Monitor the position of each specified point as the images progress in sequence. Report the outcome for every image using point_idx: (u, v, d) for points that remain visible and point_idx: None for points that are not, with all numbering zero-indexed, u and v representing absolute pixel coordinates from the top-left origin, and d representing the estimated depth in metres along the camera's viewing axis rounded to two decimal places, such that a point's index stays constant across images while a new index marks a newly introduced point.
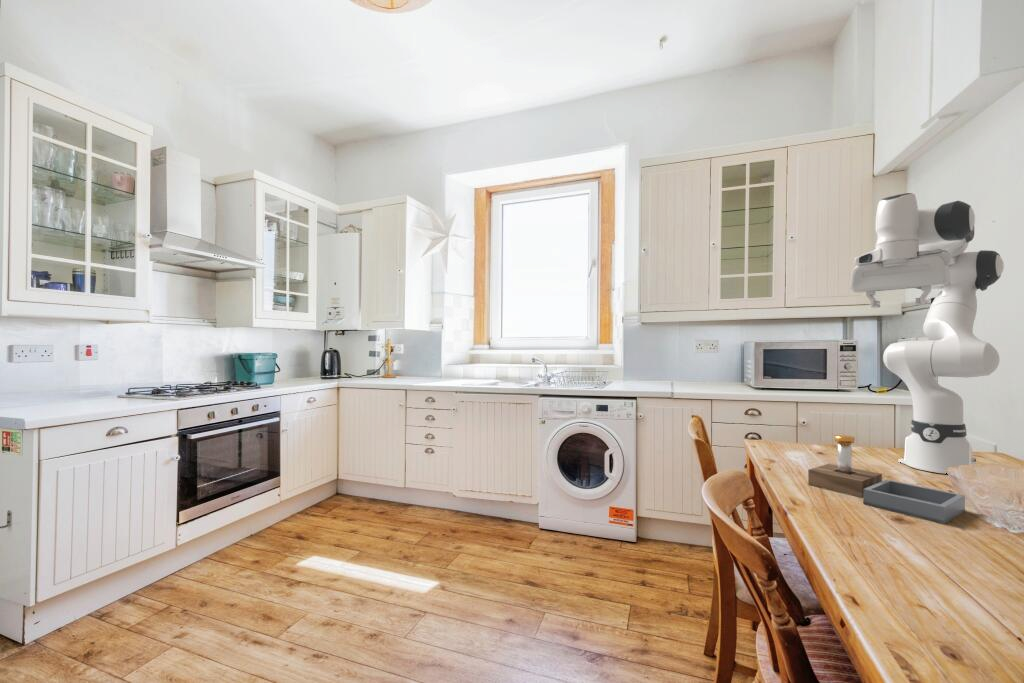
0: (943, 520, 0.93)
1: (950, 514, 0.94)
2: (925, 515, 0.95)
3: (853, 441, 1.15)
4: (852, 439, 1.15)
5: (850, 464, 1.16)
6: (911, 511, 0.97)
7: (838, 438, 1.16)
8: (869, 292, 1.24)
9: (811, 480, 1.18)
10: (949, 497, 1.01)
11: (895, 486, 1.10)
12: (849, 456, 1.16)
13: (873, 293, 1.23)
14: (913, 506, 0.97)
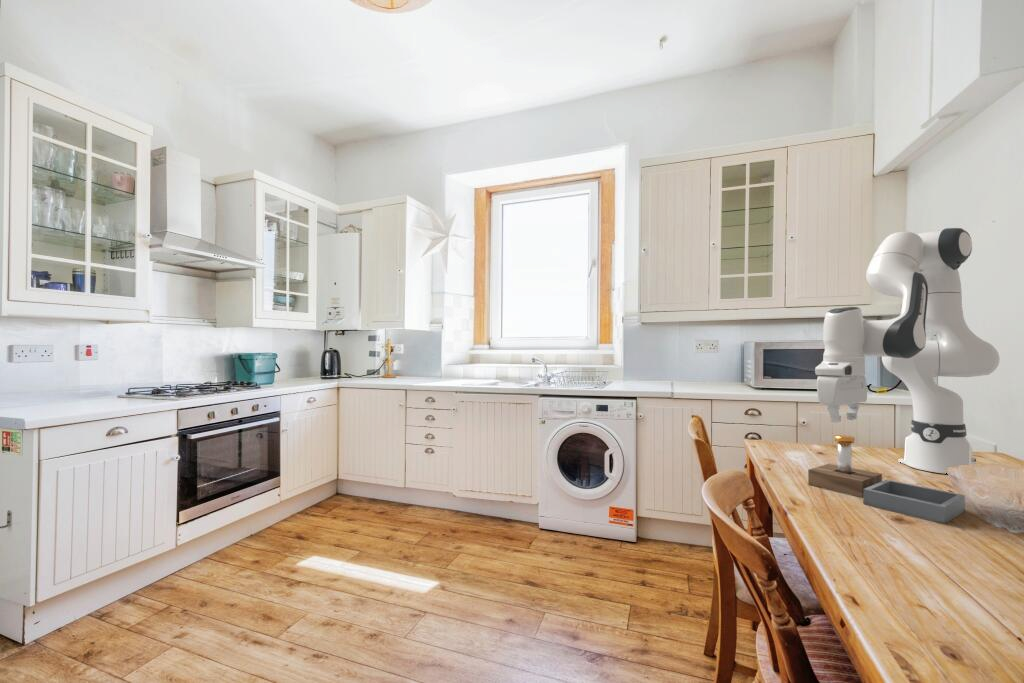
0: (943, 520, 0.93)
1: (950, 514, 0.94)
2: (925, 515, 0.95)
3: (853, 441, 1.15)
4: (852, 439, 1.15)
5: (850, 464, 1.16)
6: (911, 511, 0.97)
7: (838, 438, 1.16)
8: (838, 406, 1.13)
9: (811, 480, 1.18)
10: (949, 497, 1.01)
11: (895, 486, 1.10)
12: (849, 456, 1.16)
13: None
14: (913, 506, 0.97)
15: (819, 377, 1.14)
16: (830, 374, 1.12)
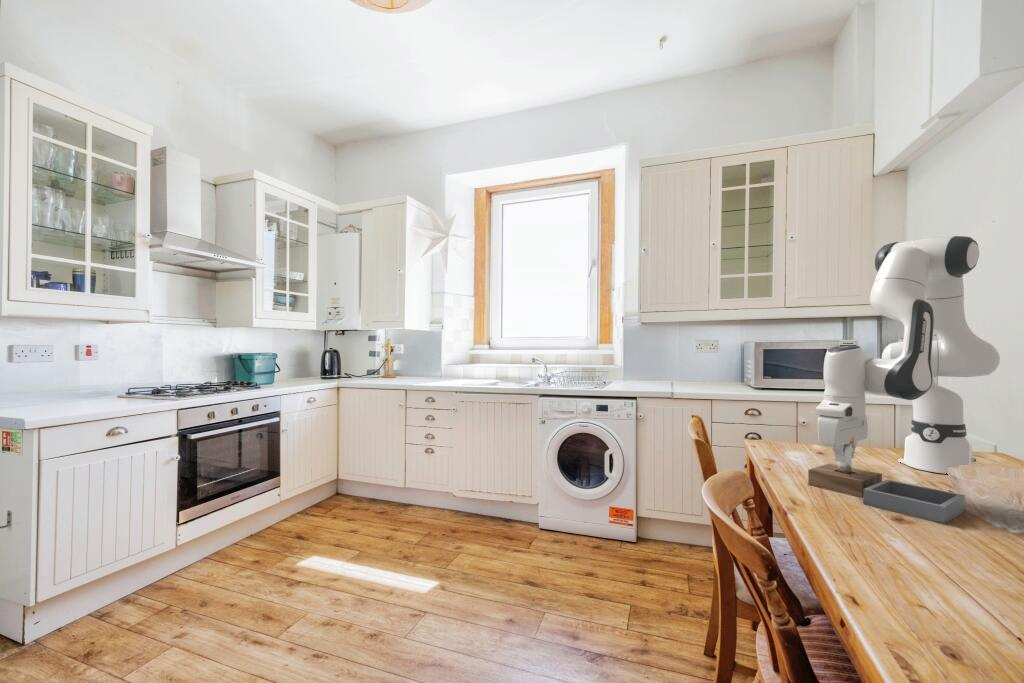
0: (943, 520, 0.93)
1: (950, 514, 0.94)
2: (925, 515, 0.95)
3: (853, 441, 1.15)
4: (852, 438, 1.15)
5: (850, 464, 1.16)
6: (911, 511, 0.97)
7: None
8: (842, 446, 1.14)
9: (811, 480, 1.18)
10: (949, 497, 1.01)
11: (895, 486, 1.10)
12: (849, 456, 1.16)
13: None
14: (913, 506, 0.97)
15: (820, 417, 1.14)
16: (831, 415, 1.12)
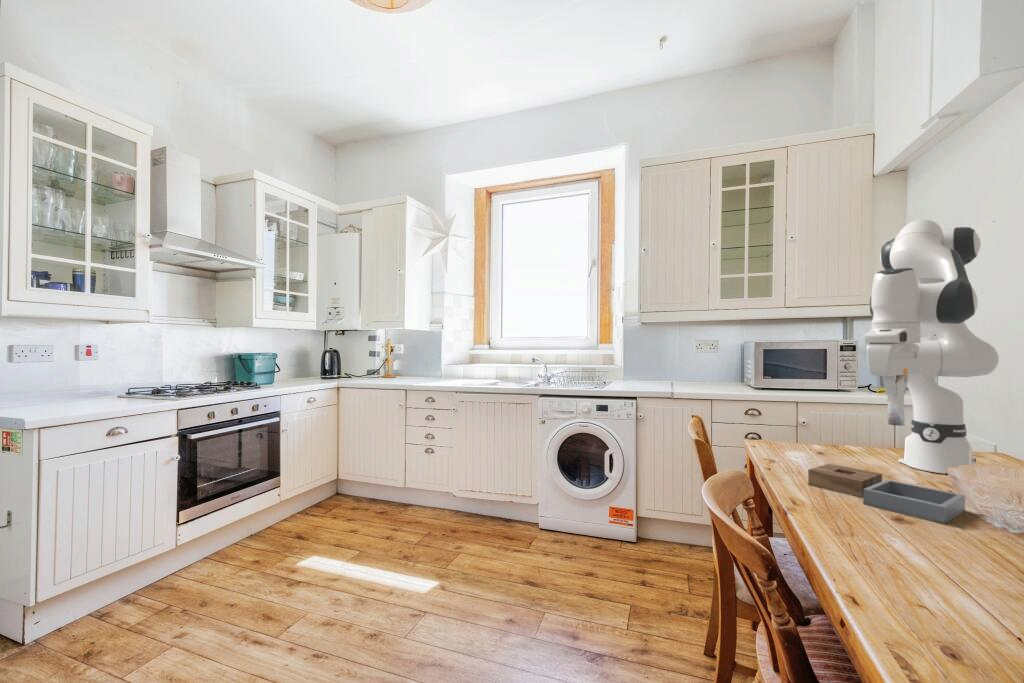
0: (943, 520, 0.93)
1: (950, 514, 0.94)
2: (925, 515, 0.95)
3: (906, 372, 1.03)
4: (905, 369, 1.03)
5: (903, 398, 1.04)
6: (911, 511, 0.97)
7: None
8: (894, 377, 1.03)
9: (811, 480, 1.18)
10: (949, 497, 1.01)
11: (895, 486, 1.10)
12: (901, 389, 1.04)
13: None
14: (913, 506, 0.97)
15: (869, 345, 1.03)
16: (882, 341, 1.01)
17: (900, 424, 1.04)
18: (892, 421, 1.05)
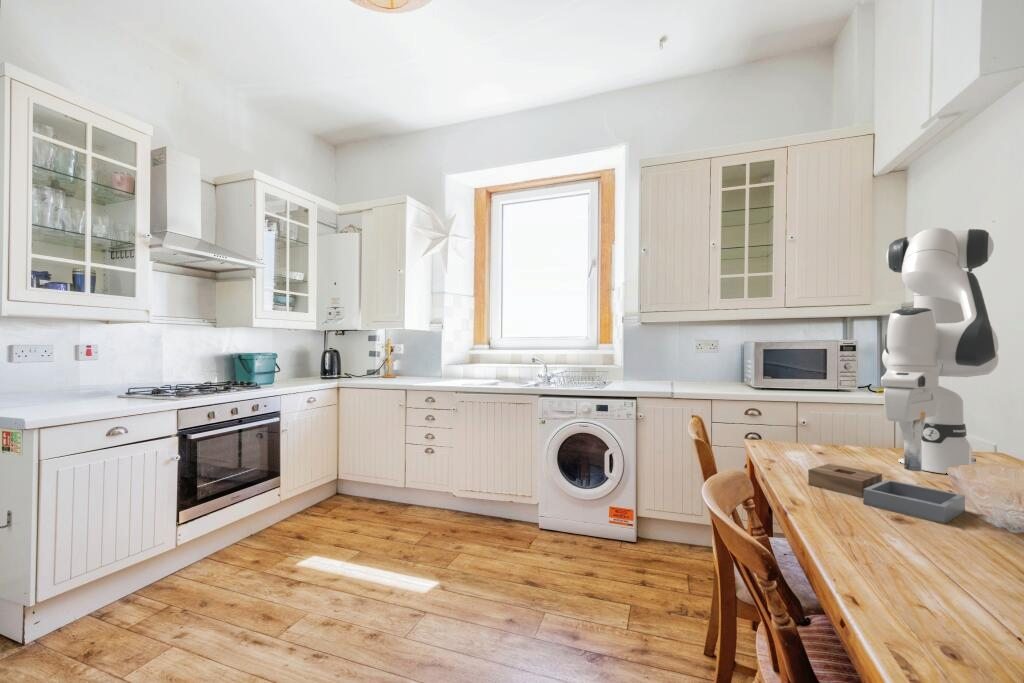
0: (943, 520, 0.93)
1: (950, 514, 0.94)
2: (925, 515, 0.95)
3: (924, 416, 1.00)
4: (923, 413, 1.00)
5: (920, 443, 1.01)
6: (911, 511, 0.97)
7: None
8: (912, 422, 0.99)
9: (811, 480, 1.18)
10: (949, 497, 1.01)
11: (895, 486, 1.10)
12: (919, 434, 1.01)
13: None
14: (913, 506, 0.97)
15: (886, 389, 0.99)
16: (900, 386, 0.97)
17: (917, 470, 1.01)
18: (909, 466, 1.01)
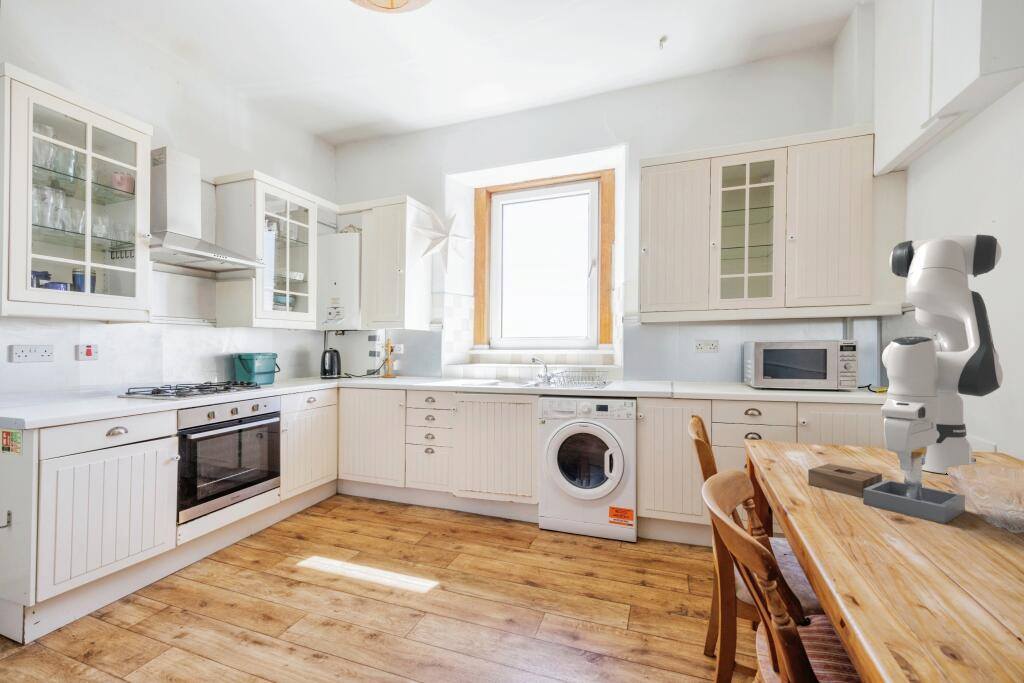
0: (943, 520, 0.93)
1: (950, 514, 0.94)
2: (925, 515, 0.95)
3: (924, 452, 1.00)
4: (923, 449, 1.00)
5: (920, 478, 1.01)
6: (911, 511, 0.97)
7: None
8: (909, 452, 0.99)
9: (811, 480, 1.18)
10: (949, 497, 1.01)
11: (895, 486, 1.10)
12: (919, 469, 1.01)
13: None
14: (913, 506, 0.97)
15: (886, 419, 0.99)
16: (900, 417, 0.97)
17: None
18: None
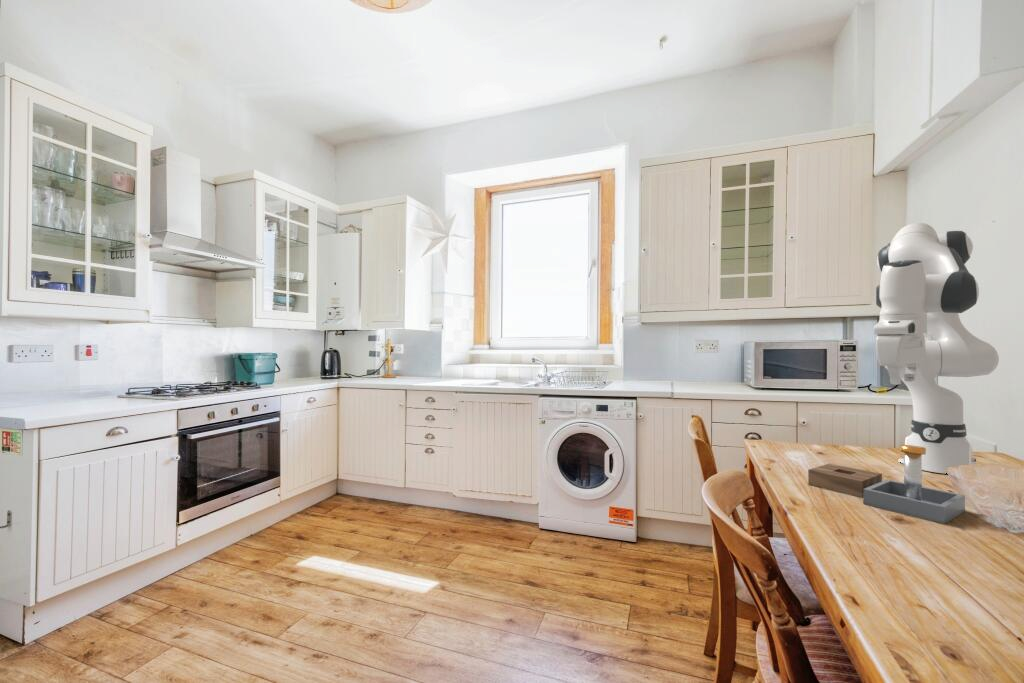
0: (943, 520, 0.93)
1: (950, 514, 0.94)
2: (925, 515, 0.95)
3: (924, 452, 1.00)
4: (923, 449, 1.00)
5: (920, 479, 1.01)
6: (911, 511, 0.97)
7: (906, 449, 1.01)
8: (899, 367, 1.05)
9: (811, 480, 1.18)
10: (949, 497, 1.01)
11: (895, 486, 1.10)
12: (919, 469, 1.01)
13: None
14: (913, 506, 0.97)
15: (878, 337, 1.06)
16: (891, 333, 1.04)
17: None
18: None
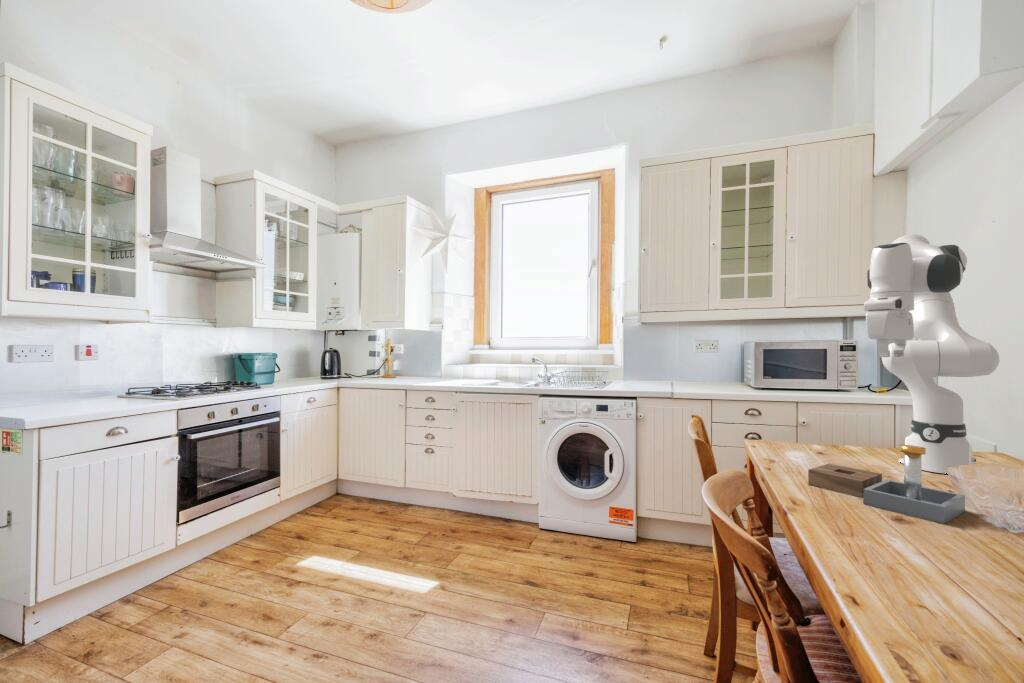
0: (943, 520, 0.93)
1: (950, 514, 0.94)
2: (925, 515, 0.95)
3: (924, 452, 1.00)
4: (923, 449, 1.00)
5: (920, 479, 1.01)
6: (911, 511, 0.97)
7: (906, 449, 1.01)
8: (887, 340, 1.13)
9: (811, 480, 1.18)
10: (949, 497, 1.01)
11: (895, 486, 1.10)
12: (919, 469, 1.01)
13: None
14: (913, 506, 0.97)
15: (868, 312, 1.14)
16: (880, 308, 1.12)
17: None
18: None
